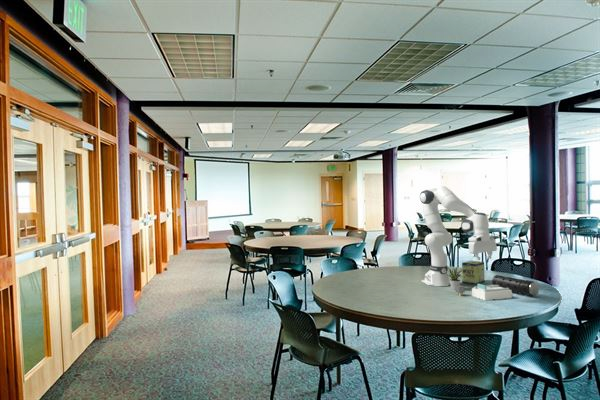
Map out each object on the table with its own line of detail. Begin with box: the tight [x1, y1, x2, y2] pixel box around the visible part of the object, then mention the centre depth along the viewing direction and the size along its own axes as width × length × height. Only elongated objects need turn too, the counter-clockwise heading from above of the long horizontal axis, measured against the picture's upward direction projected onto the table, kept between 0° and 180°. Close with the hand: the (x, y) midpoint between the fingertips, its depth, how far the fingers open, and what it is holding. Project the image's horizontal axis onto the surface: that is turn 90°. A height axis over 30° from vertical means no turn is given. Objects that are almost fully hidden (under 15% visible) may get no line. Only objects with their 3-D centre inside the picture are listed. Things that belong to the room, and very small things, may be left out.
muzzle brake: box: [491, 274, 540, 297], centre depth 259 cm, size 10×28×10 cm, turn 25°
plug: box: [455, 284, 466, 297], centre depth 256 cm, size 4×4×6 cm
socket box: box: [471, 284, 513, 301], centre depth 250 cm, size 12×20×6 cm, turn 104°
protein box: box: [461, 260, 485, 286], centre depth 293 cm, size 10×16×16 cm
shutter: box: [476, 283, 494, 291], centre depth 249 cm, size 7×8×3 cm
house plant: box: [447, 266, 465, 291], centre depth 272 cm, size 14×14×16 cm
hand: (484, 259), depth 247 cm, fingers open, 8 cm apart
